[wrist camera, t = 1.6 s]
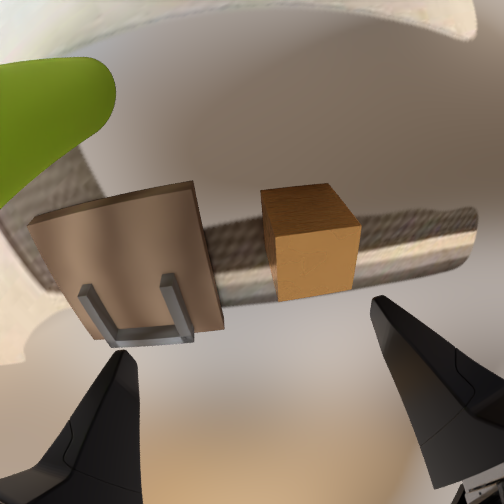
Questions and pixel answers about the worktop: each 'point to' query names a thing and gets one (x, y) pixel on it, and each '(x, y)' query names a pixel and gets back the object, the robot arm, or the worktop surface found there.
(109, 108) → the soap dispenser
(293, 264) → the block
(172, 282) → the dock
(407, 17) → the worktop surface
